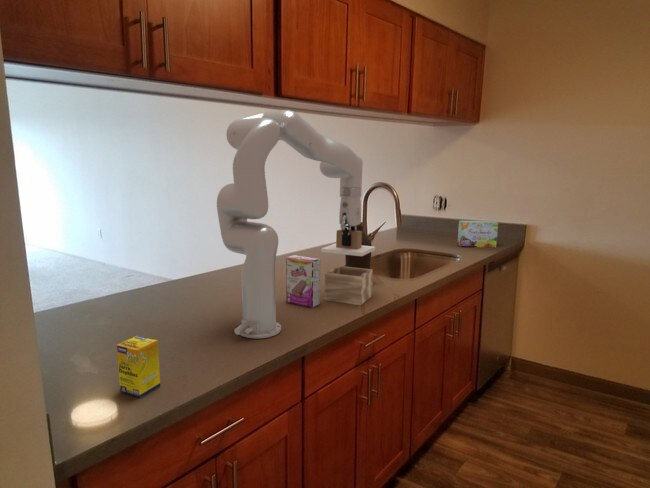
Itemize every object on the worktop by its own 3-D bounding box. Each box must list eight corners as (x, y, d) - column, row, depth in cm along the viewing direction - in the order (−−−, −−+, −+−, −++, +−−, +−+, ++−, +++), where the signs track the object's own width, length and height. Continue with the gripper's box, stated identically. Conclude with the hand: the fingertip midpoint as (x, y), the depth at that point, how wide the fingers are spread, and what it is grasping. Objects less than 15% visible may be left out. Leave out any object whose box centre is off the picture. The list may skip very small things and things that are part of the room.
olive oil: (376, 284, 184) (378, 222, 179) (357, 288, 177) (358, 224, 172) (357, 278, 191) (359, 219, 187) (339, 282, 185) (339, 221, 180)
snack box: (459, 247, 262) (461, 221, 259) (457, 245, 267) (458, 220, 264) (496, 247, 262) (498, 221, 259) (493, 245, 267) (495, 220, 264)
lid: (362, 256, 152) (362, 234, 150) (321, 251, 158) (321, 231, 156) (375, 249, 164) (375, 230, 163) (336, 246, 170) (337, 227, 169)
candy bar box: (285, 303, 159) (285, 257, 155) (293, 299, 163) (293, 254, 160) (312, 308, 153) (313, 261, 150) (320, 304, 157) (320, 258, 154)
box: (360, 305, 156) (361, 277, 155) (324, 300, 162) (325, 273, 160) (371, 295, 168) (372, 269, 166) (338, 291, 173) (338, 265, 171)
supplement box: (119, 392, 97) (115, 344, 95) (140, 380, 103) (137, 334, 101) (140, 399, 95) (136, 349, 93) (161, 386, 100) (158, 339, 98)
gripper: (352, 194, 149) (350, 249, 152) (368, 192, 164) (366, 242, 167) (331, 193, 152) (329, 247, 155) (349, 191, 167) (347, 240, 170)
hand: (348, 244), depth 161 cm, fingers closed on lid, 4 cm apart
